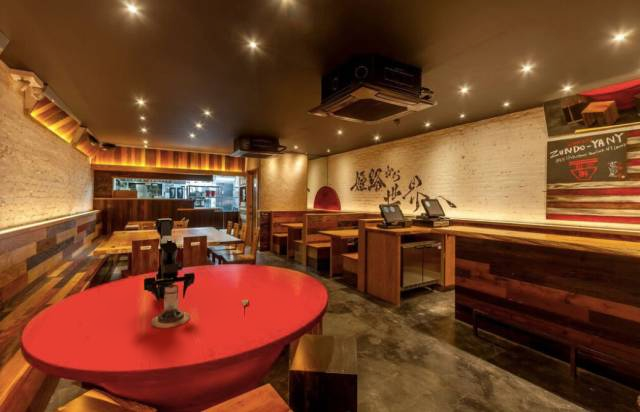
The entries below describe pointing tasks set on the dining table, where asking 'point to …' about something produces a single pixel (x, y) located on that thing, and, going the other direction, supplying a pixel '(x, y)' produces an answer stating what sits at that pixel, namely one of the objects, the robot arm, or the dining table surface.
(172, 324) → the collar board
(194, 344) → the dining table surface
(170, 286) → the grey lidded canister
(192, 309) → the dining table surface
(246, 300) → the fork
